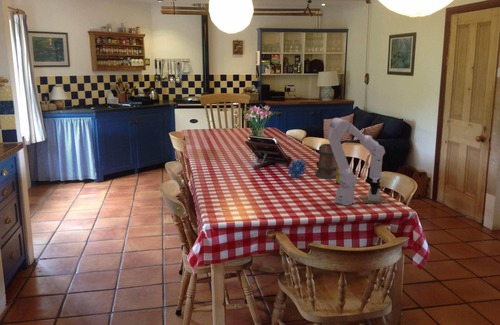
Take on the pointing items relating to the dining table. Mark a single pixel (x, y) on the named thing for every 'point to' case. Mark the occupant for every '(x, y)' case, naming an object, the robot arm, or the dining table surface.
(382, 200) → the board
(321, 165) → the tankard
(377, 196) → the sleeve
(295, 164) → the blue bumpy rounded lump
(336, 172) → the supplement box
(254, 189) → the dining table surface
